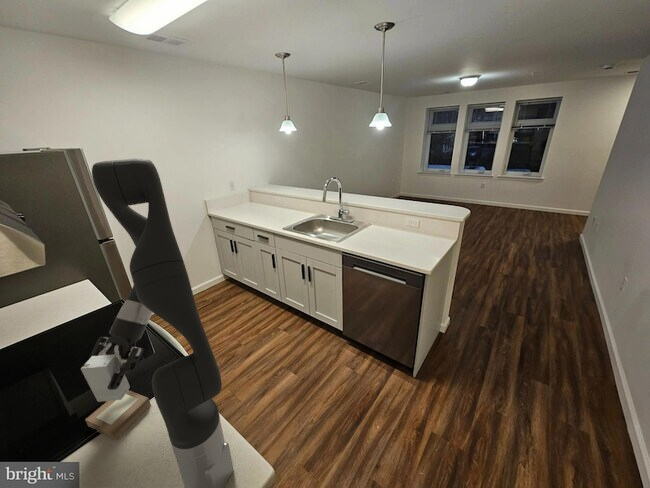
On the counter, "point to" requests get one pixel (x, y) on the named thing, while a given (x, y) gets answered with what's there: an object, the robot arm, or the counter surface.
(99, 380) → the skincare box
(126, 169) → the robot arm
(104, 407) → the walnut plinth
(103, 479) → the counter surface
